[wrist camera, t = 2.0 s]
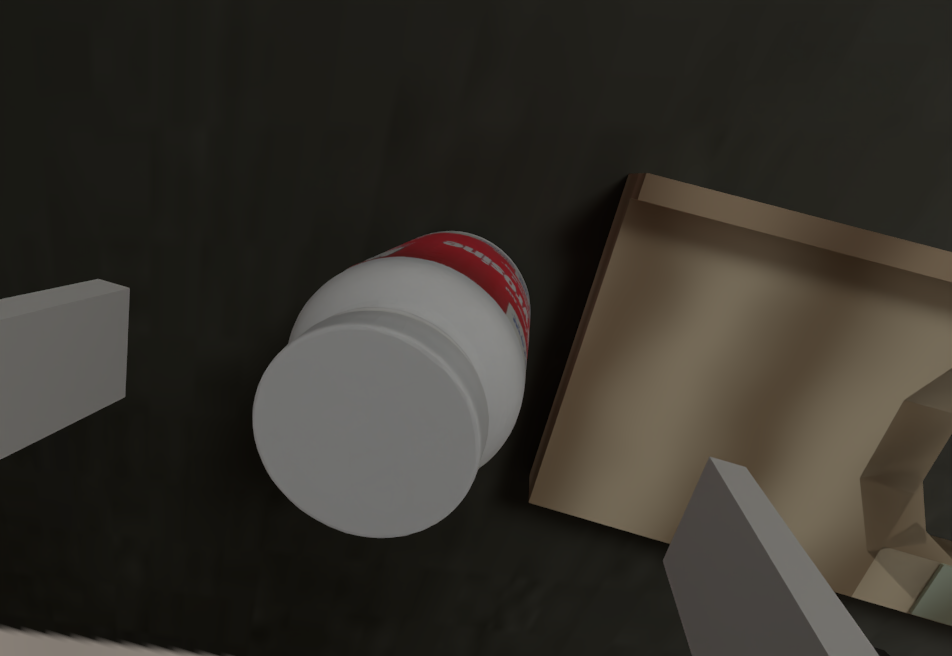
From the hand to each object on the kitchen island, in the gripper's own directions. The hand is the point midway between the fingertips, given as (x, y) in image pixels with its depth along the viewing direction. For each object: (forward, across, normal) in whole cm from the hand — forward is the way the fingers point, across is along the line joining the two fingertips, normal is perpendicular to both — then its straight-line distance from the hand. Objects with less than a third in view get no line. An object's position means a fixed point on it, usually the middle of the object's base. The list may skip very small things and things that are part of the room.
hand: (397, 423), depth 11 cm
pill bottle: (+10, -1, 0) cm, 10 cm away
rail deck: (+10, +16, 0) cm, 19 cm away
